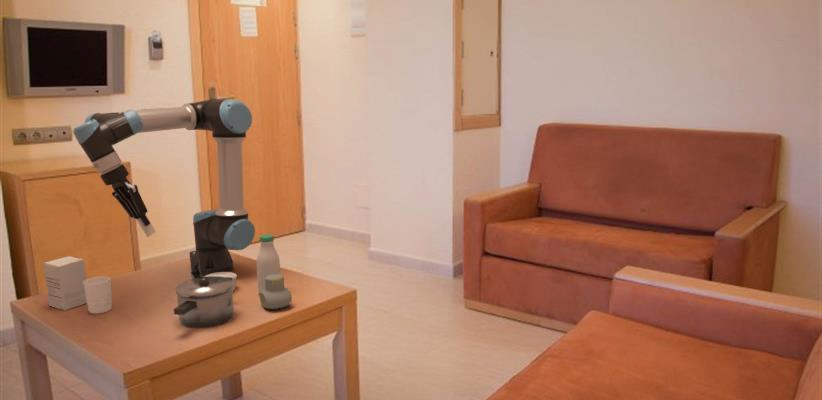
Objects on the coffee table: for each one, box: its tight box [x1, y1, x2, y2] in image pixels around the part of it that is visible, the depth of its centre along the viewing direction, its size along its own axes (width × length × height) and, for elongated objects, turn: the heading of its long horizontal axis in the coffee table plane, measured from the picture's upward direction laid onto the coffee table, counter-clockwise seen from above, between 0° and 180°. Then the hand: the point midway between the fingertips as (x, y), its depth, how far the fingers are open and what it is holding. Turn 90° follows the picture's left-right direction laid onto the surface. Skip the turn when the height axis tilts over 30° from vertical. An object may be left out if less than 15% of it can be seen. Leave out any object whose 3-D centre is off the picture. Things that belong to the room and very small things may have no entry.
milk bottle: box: [256, 234, 282, 295], centre depth 221 cm, size 8×8×20 cm
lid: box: [175, 250, 233, 298], centre depth 201 cm, size 24×17×8 cm
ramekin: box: [204, 271, 238, 292], centre depth 226 cm, size 11×11×5 cm
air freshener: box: [259, 273, 293, 310], centre depth 209 cm, size 11×8×10 cm
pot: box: [173, 277, 235, 329], centre depth 200 cm, size 30×16×9 cm, turn 168°
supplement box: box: [42, 255, 88, 311], centre depth 214 cm, size 9×9×15 cm
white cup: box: [83, 276, 113, 314], centre depth 209 cm, size 8×8×10 cm
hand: (151, 234), depth 207 cm, fingers closed
